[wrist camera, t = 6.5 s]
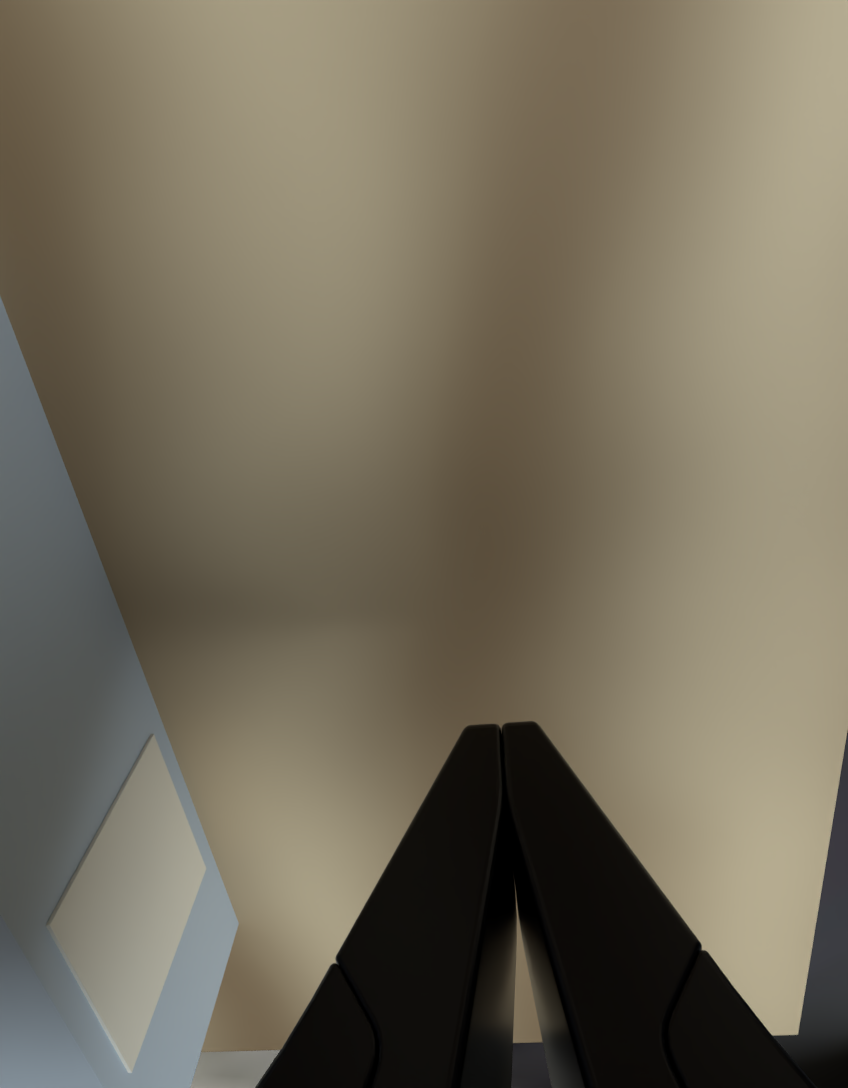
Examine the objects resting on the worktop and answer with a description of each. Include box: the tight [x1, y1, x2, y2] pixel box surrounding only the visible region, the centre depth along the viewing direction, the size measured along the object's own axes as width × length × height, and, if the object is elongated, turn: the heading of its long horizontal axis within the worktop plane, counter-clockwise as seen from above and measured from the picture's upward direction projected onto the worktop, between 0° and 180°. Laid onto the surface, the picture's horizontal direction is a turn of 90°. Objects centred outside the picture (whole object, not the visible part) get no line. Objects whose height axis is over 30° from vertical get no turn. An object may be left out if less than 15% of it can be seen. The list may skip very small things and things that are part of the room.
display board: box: [0, 0, 848, 1052], centre depth 11 cm, size 22×20×4 cm
